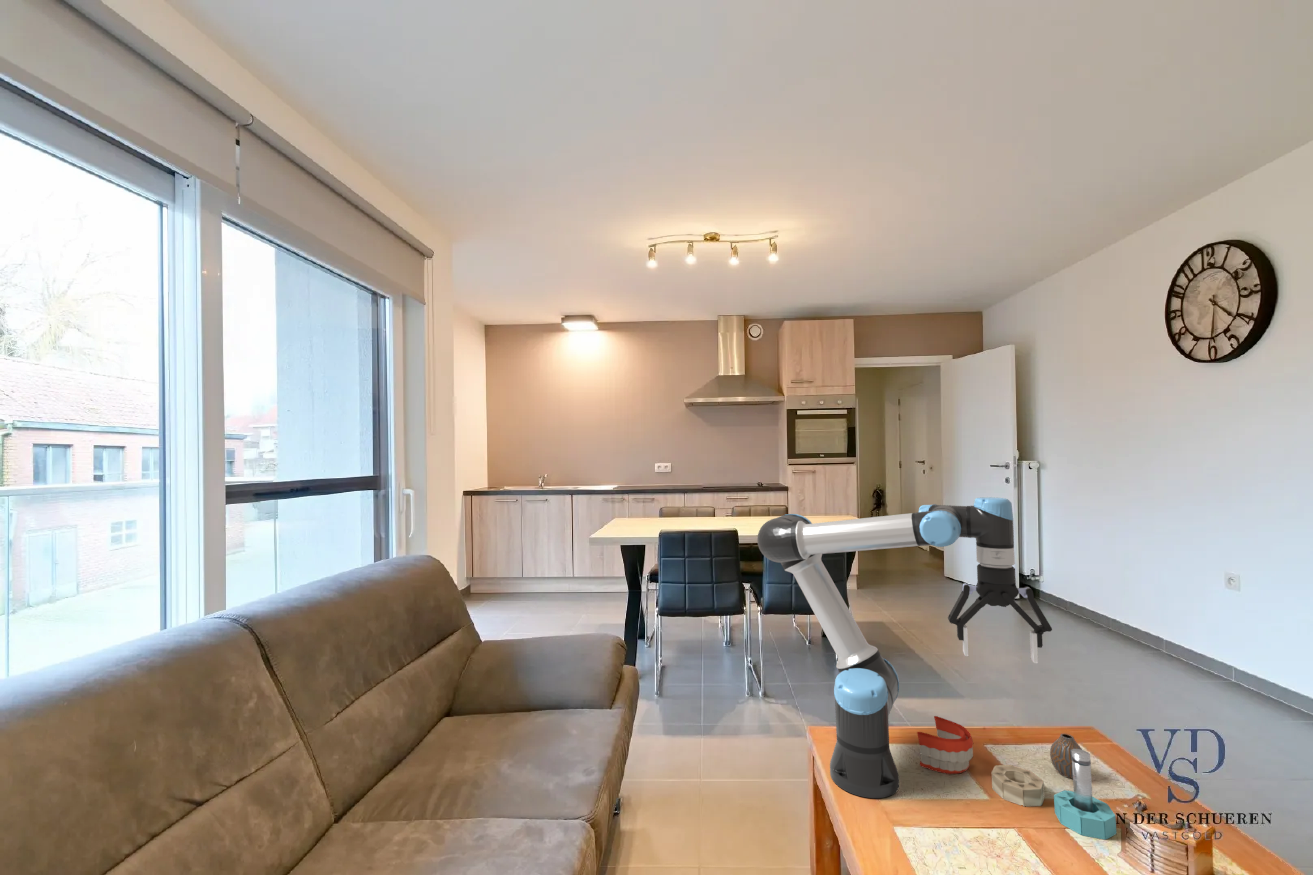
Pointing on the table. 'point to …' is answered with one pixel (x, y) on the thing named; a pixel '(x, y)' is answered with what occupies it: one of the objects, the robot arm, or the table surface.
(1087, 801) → the capped vial
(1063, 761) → the vase
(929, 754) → the toy
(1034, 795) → the bead birch
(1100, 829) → the bead teal
